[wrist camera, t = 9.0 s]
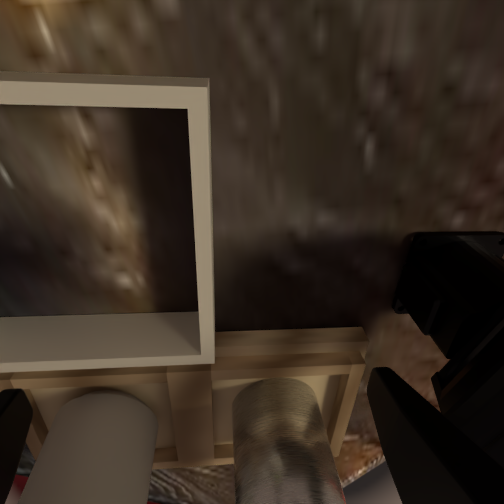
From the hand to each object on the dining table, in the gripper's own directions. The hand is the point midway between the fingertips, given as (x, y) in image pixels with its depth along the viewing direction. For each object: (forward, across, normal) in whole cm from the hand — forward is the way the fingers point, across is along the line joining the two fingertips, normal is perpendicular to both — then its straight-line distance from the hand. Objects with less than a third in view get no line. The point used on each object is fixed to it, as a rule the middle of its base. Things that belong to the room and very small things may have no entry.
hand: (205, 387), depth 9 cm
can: (+12, +9, +17) cm, 23 cm away
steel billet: (+12, -4, +18) cm, 22 cm away
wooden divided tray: (+13, +2, +18) cm, 22 cm away
